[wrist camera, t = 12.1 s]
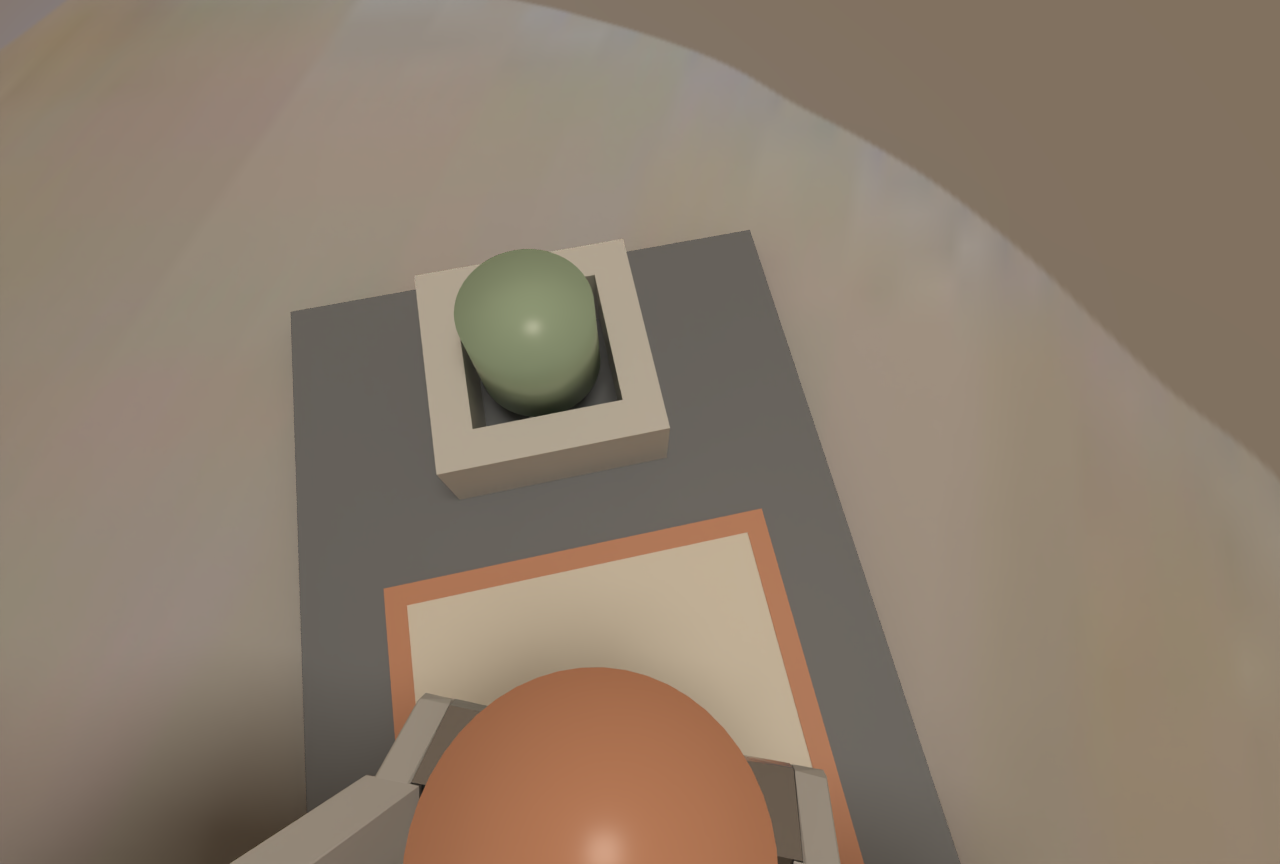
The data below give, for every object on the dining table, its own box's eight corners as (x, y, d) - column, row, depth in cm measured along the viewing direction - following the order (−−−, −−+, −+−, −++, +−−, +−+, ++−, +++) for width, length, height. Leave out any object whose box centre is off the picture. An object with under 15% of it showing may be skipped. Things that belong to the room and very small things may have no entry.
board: (980, 957, 17) (1056, 1017, 14) (333, 1134, 16) (257, 1243, 13) (746, 244, 25) (761, 179, 22) (301, 324, 23) (250, 268, 20)
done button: (611, 403, 20) (606, 355, 17) (488, 427, 19) (462, 382, 16) (588, 299, 21) (580, 238, 18) (472, 320, 21) (446, 262, 18)
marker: (706, 820, 16) (828, 1047, 6) (561, 856, 16) (420, 1161, 6) (673, 668, 17) (724, 633, 7) (538, 699, 17) (386, 709, 7)
